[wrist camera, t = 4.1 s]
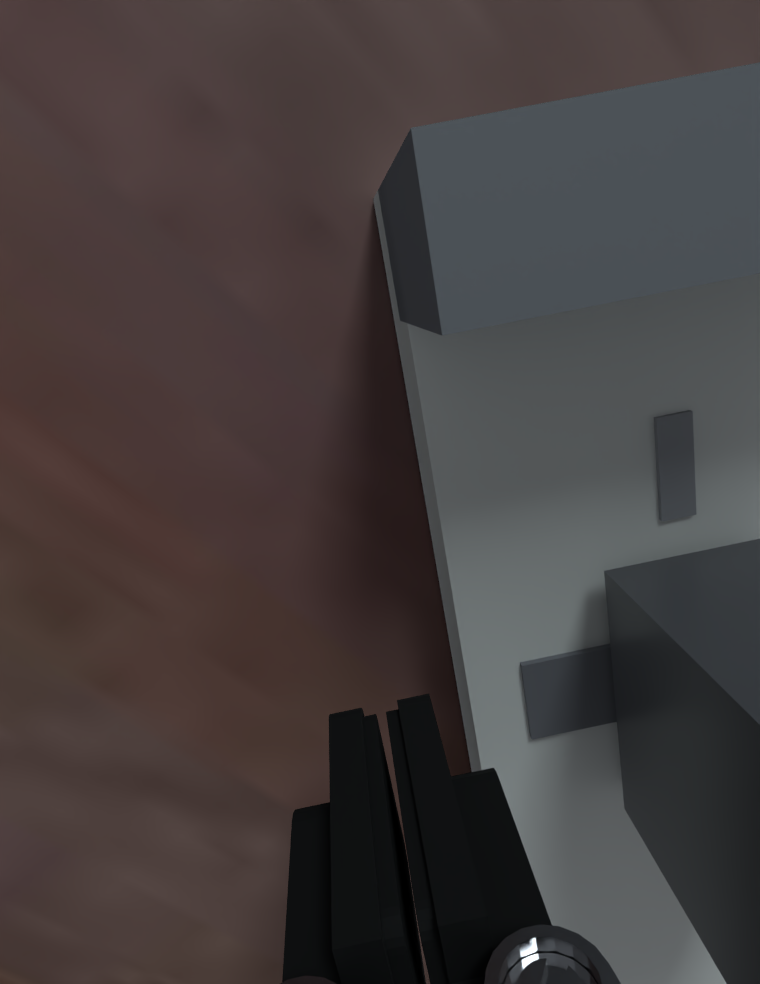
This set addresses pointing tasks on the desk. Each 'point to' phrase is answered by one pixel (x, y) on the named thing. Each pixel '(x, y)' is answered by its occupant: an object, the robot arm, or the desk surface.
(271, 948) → the desk surface
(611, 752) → the console
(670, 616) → the fader knob
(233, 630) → the desk surface
